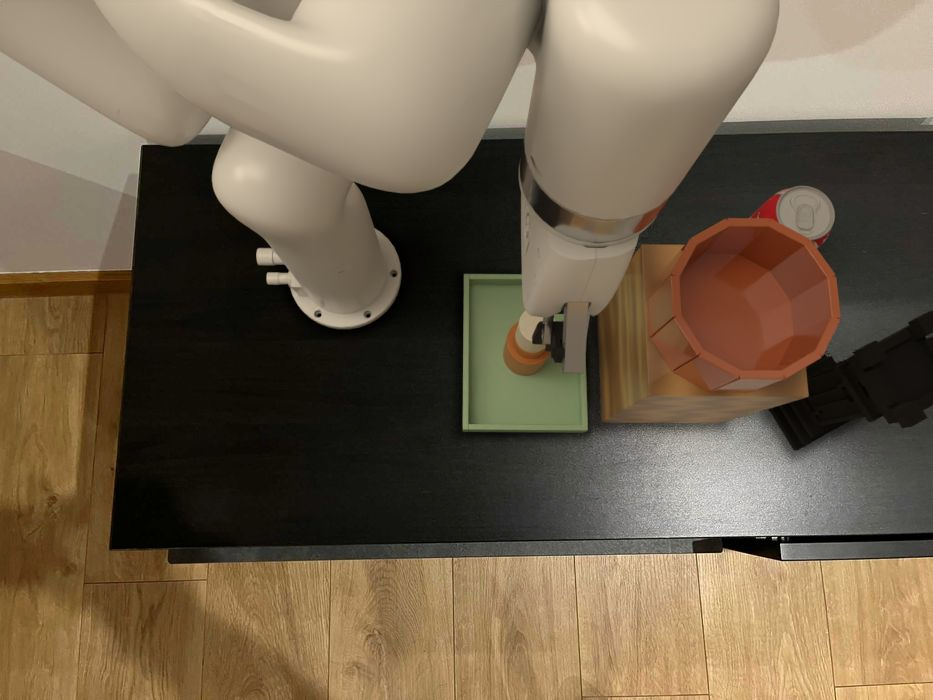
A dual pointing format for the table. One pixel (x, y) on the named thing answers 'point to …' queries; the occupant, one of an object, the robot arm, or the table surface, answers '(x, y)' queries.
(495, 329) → the tray
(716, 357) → the pot
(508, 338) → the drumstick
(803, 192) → the soda can
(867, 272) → the table surface
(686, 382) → the stand
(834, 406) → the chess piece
